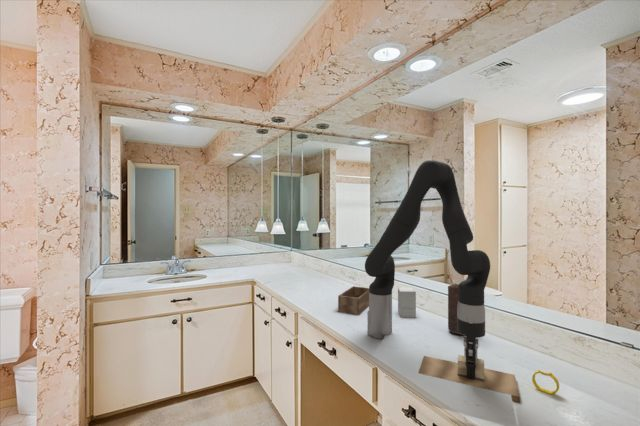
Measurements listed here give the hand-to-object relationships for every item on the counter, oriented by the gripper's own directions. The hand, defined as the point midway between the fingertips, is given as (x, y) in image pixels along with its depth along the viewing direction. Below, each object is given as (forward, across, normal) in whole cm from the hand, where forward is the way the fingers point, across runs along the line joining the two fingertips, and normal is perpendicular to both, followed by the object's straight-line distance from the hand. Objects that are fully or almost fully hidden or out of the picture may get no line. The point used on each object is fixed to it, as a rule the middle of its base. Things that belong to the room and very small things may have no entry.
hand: (471, 374), depth 90 cm
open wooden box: (+2, -48, -55) cm, 73 cm away
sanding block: (0, 0, 0) cm, 0 cm away
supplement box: (+2, -48, -29) cm, 56 cm away
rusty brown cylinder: (+2, -36, -6) cm, 37 cm away
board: (+2, 0, -1) cm, 2 cm away
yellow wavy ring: (+2, -3, +19) cm, 19 cm away
